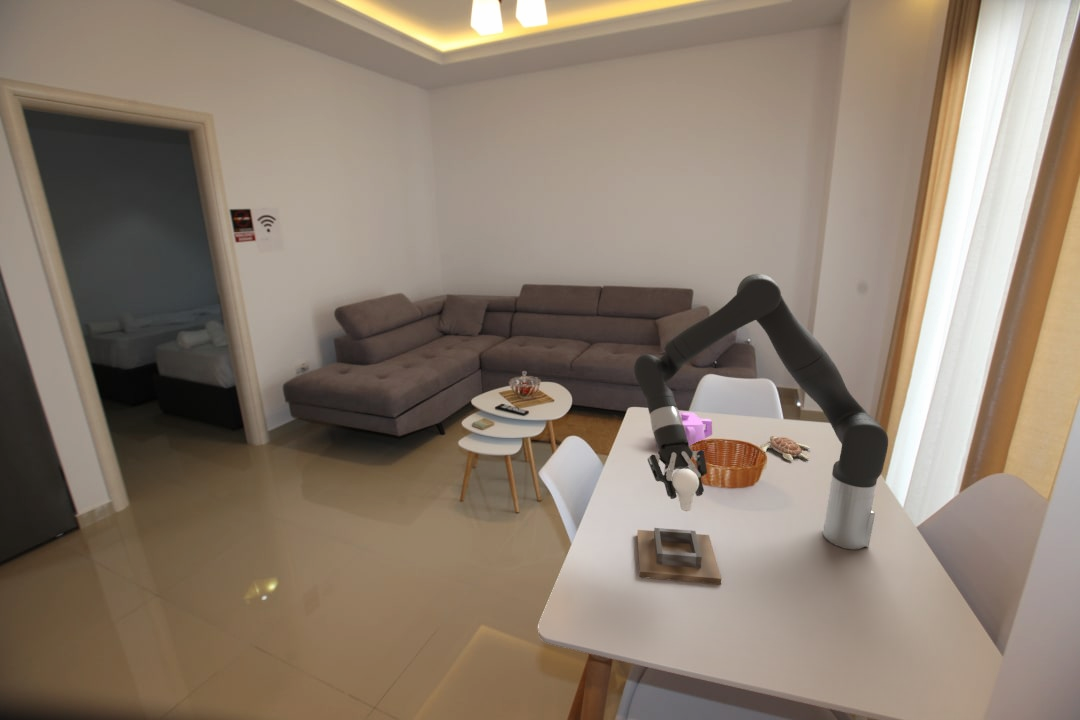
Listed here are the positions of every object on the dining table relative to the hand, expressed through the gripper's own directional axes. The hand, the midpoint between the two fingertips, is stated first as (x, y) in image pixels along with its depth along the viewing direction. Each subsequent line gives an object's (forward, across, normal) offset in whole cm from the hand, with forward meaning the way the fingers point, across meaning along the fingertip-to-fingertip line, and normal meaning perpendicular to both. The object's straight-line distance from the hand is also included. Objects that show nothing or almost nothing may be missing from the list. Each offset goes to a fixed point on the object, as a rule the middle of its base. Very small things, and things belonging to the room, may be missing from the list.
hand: (686, 496), depth 112 cm
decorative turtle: (-20, +62, +45) cm, 79 cm away
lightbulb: (+2, +1, +4) cm, 5 cm away
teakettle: (-29, +30, +55) cm, 69 cm away
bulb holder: (+12, -1, +14) cm, 18 cm away
